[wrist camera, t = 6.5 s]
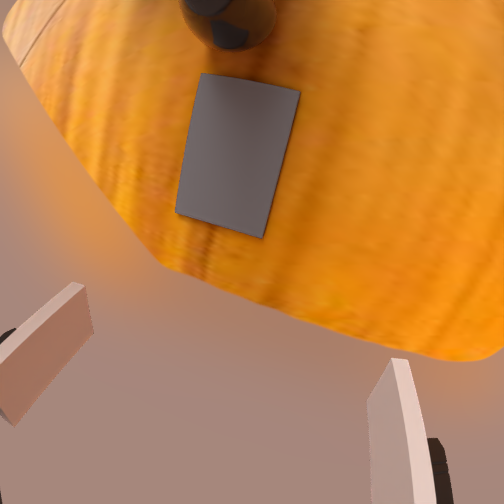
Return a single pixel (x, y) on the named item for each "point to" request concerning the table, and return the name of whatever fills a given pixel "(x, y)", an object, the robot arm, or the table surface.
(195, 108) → the mat
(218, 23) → the pump dispenser
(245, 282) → the table surface
